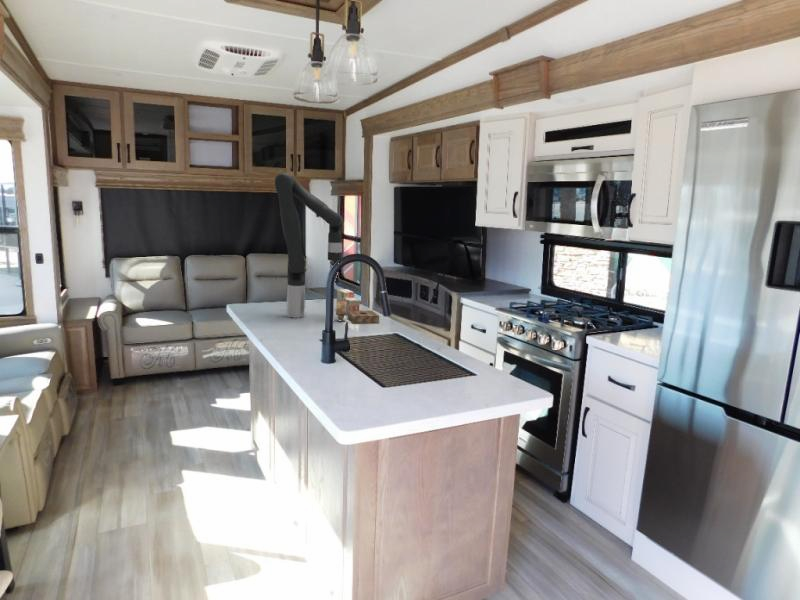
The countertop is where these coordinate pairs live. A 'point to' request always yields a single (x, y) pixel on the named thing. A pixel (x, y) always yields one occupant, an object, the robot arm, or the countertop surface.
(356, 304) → the stack of blocks
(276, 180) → the robot arm
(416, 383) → the countertop surface
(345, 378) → the countertop surface
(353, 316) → the walnut board
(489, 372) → the countertop surface
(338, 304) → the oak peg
